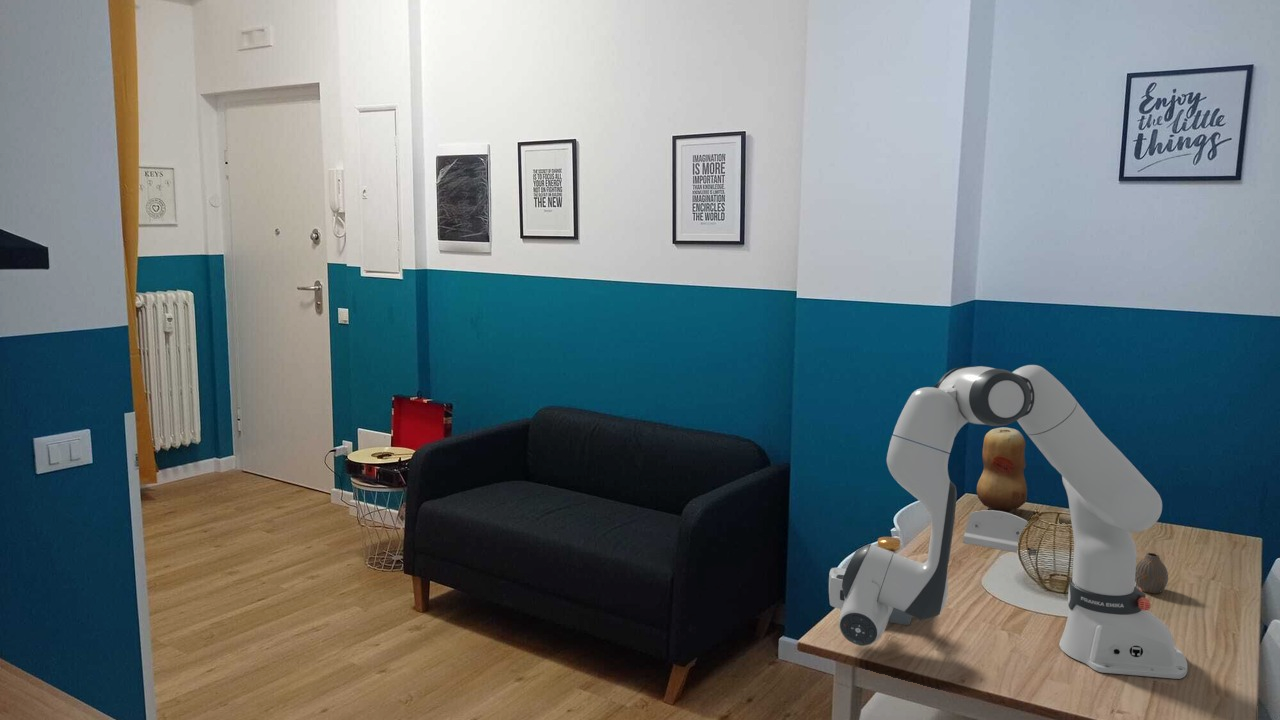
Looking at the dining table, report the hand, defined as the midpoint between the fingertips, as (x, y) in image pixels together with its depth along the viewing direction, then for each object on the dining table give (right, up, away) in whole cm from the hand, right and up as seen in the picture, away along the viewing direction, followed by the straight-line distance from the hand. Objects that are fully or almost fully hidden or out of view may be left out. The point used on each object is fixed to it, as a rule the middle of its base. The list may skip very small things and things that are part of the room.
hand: (883, 573), depth 196 cm
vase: (+67, -8, +17) cm, 69 cm away
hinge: (+43, -4, +48) cm, 65 cm away
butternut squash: (+55, +1, +75) cm, 93 cm away
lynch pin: (+3, -10, +7) cm, 13 cm away
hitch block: (+3, -10, +7) cm, 13 cm away
